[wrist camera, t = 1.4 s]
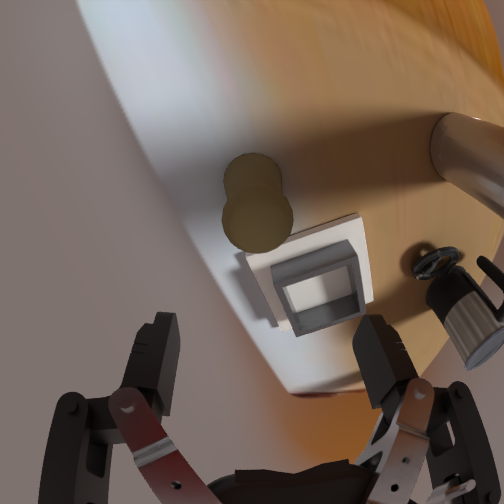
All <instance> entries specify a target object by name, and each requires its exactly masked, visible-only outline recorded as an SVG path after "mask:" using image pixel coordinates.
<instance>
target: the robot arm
mask: <svg viewBox="0 0 504 504" xmlns="http://www.w3.org/2000/svg"><path fill="white" fill-rule="evenodd" d="M431 157H432V162H433V165H434V167H435V169H436V171H437V172H438V174H439V175H440V176H441V177H442V178H444V179H446V180H447V181H449V182H450V183H452V184H454V185H455V186H457V187H458V188H460V189H461V190H463V191H464V192H466V193H467V194H469V195H470V196H472V197H473V198H475V199H476V200H478V201H479V202H481V203H482V204H484V205H485V206H486V207H488V208H489V209H491V210H492V211H493V212H495V213H496V214H497V215H499V216H500V217H501V218H503V219H504V127H501V126H499V125H496V124H493V123H490V122H486V121H483V120H480V119H477V118H474V117H470V116H466V115H463V114H459V113H449V114H447V115H445V116H444V117H443V118H441V119H440V120H439V122H438V123H437V125H436V127H435V129H434V131H433V134H432V138H431ZM405 349H406V348H405V346H404V344H403V343H402V340H401V338H400V336H399V334H398V332H397V331H396V330H395V329H394V328H393V327H392V326H391V325H387V324H386V322H385V320H384V318H383V316H382V315H381V314H373V315H364V316H363V318H362V320H361V322H360V324H359V327H358V329H357V331H356V333H355V335H354V338H353V351H354V354H355V357H356V360H357V362H358V365H359V368H360V371H361V374H362V377H363V381H364V384H365V387H366V390H367V393H368V396H369V399H370V402H371V405H372V409H376V408H382V411H383V412H382V413H381V415H380V417H379V419H378V422H377V424H376V426H375V429H374V431H373V433H372V435H371V438H370V440H369V442H368V444H367V446H366V448H365V449H364V451H363V452H362V453H361V454H360V456H359V457H358V459H357V460H356V462H355V464H349V460H348V459H345V460H341V461H335V462H329V463H324V464H320V465H318V466H315V467H313V468H310V469H307V470H305V471H302V472H299V473H295V474H291V473H284V472H277V471H270V470H264V469H262V470H235V474H232V475H228V476H225V477H221V478H219V479H217V480H215V481H213V482H211V483H210V484H208V485H207V486H206V485H205V483H204V482H203V481H202V480H201V479H200V477H199V476H198V475H197V474H196V473H195V471H194V470H193V469H192V467H191V466H190V465H189V464H188V462H187V461H186V460H185V458H184V457H183V455H182V454H181V453H180V452H179V450H178V449H177V447H176V446H175V444H174V443H173V442H172V441H171V439H170V438H169V436H168V435H167V433H166V432H165V430H164V429H163V427H162V426H161V420H162V416H170V409H171V403H172V396H173V389H174V382H175V376H176V370H177V364H178V358H179V352H180V334H179V328H178V323H177V317H176V314H175V313H169V312H157V314H156V316H155V320H154V323H153V324H148V323H145V324H144V325H143V326H142V327H141V328H140V330H139V331H138V332H137V335H136V338H135V341H134V344H133V347H132V350H131V353H130V357H129V360H128V363H127V367H126V370H125V374H124V377H123V381H122V384H121V386H120V388H119V389H117V390H116V391H114V392H113V393H112V395H110V396H107V397H102V398H92V399H85V398H84V396H82V395H81V394H79V393H77V392H68V393H66V394H64V395H62V396H61V397H60V399H59V400H58V402H57V405H56V409H55V412H54V416H53V420H52V424H51V428H50V432H49V437H48V441H47V446H46V451H45V456H44V461H43V467H42V474H41V481H40V489H39V499H38V504H108V490H109V477H110V466H111V457H112V448H113V444H120V443H126V444H127V446H128V447H129V449H130V451H131V453H132V455H133V457H134V462H135V464H136V466H137V468H138V469H139V471H140V472H141V474H142V476H143V477H144V479H145V480H146V482H147V483H148V485H149V486H150V488H151V489H152V491H153V492H154V494H155V495H156V496H157V498H158V499H159V500H160V502H161V503H162V504H417V503H416V502H414V501H413V500H411V499H410V496H411V494H412V491H413V489H414V487H415V484H416V482H417V479H418V476H419V474H420V471H421V468H422V465H423V462H424V459H425V456H426V459H427V463H428V468H429V472H430V477H431V482H432V488H433V491H432V493H431V496H430V497H428V499H427V501H426V503H427V504H498V503H499V500H500V497H501V489H500V483H499V479H498V474H497V470H496V466H495V462H494V458H493V455H492V451H491V448H490V444H489V442H488V438H487V435H486V432H485V429H484V426H483V423H482V420H481V417H480V415H479V412H478V410H477V407H476V404H475V402H474V399H473V397H472V394H471V392H470V390H469V388H468V387H467V385H466V384H464V383H463V382H460V381H456V382H453V383H452V384H451V385H450V386H449V387H448V388H438V387H433V386H432V385H431V383H430V382H429V381H427V380H426V379H423V378H419V376H418V374H417V372H416V370H415V368H414V365H413V363H412V361H411V359H410V357H409V355H408V353H407V350H405ZM448 421H450V424H451V427H452V430H453V434H454V437H455V444H454V446H453V443H452V440H451V437H450V433H449V430H448V427H447V424H446V423H447V422H448Z"/></svg>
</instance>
